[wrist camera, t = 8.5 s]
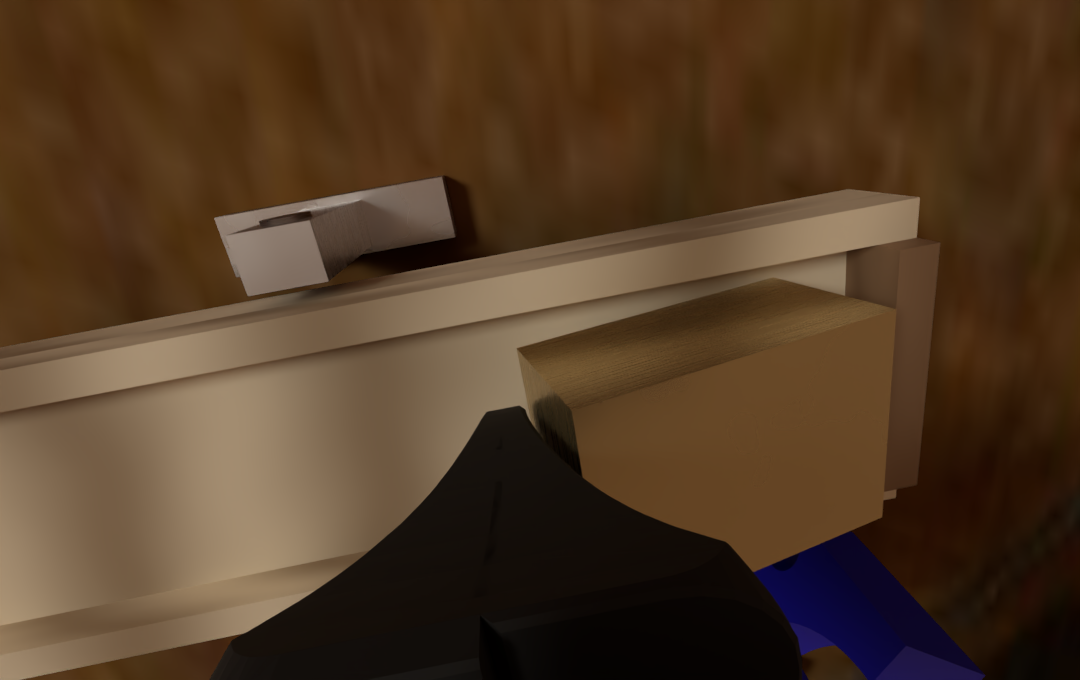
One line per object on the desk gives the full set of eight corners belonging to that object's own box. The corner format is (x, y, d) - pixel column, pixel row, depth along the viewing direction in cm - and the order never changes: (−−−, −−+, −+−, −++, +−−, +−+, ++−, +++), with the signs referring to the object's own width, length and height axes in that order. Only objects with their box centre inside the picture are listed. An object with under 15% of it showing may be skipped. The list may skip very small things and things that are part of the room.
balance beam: (-65, 634, 14) (-189, 744, 12) (-249, 394, 12) (-460, 465, 9) (839, 449, 15) (914, 514, 12) (848, 189, 13) (944, 200, 10)
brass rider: (552, 528, 12) (608, 633, 9) (516, 348, 10) (571, 411, 8) (775, 446, 13) (882, 517, 11) (773, 277, 12) (896, 308, 9)
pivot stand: (344, 529, 18) (293, 660, 14) (228, 214, 15) (103, 246, 10) (515, 496, 19) (522, 614, 14) (444, 175, 15) (421, 188, 10)
